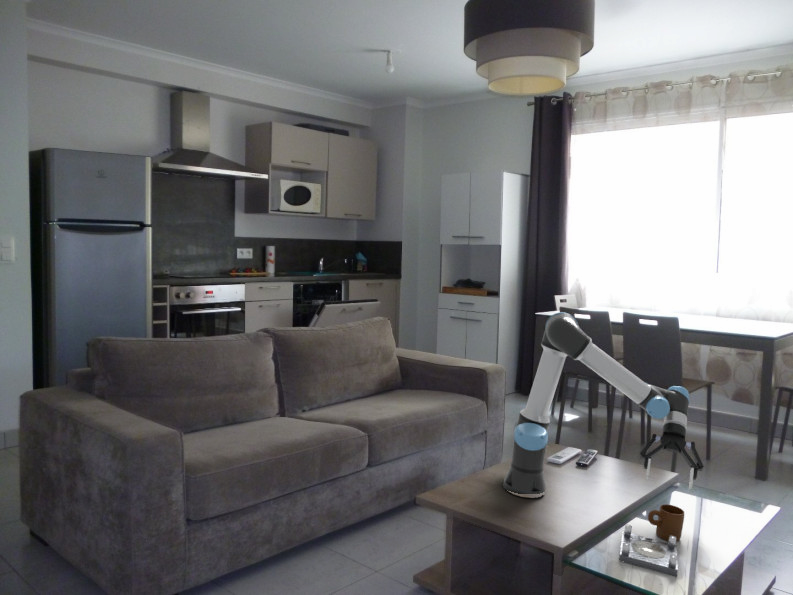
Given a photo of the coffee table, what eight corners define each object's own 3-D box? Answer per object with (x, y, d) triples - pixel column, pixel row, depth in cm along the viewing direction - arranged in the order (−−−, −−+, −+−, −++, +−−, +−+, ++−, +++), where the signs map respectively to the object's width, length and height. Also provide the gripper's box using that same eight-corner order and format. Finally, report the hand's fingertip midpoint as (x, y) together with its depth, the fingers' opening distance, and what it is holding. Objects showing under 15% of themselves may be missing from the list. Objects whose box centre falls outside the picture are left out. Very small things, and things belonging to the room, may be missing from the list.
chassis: (618, 560, 195) (621, 545, 194) (621, 537, 209) (624, 522, 209) (676, 576, 189) (679, 560, 188) (675, 551, 204) (678, 536, 203)
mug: (651, 543, 208) (656, 515, 206) (638, 531, 215) (642, 504, 214) (685, 542, 210) (690, 515, 209) (671, 530, 217) (675, 504, 216)
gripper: (711, 439, 230) (707, 496, 219) (636, 424, 239) (628, 478, 227) (715, 429, 225) (711, 486, 213) (638, 414, 234) (630, 469, 222)
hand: (668, 482), depth 220 cm, fingers open, 13 cm apart
